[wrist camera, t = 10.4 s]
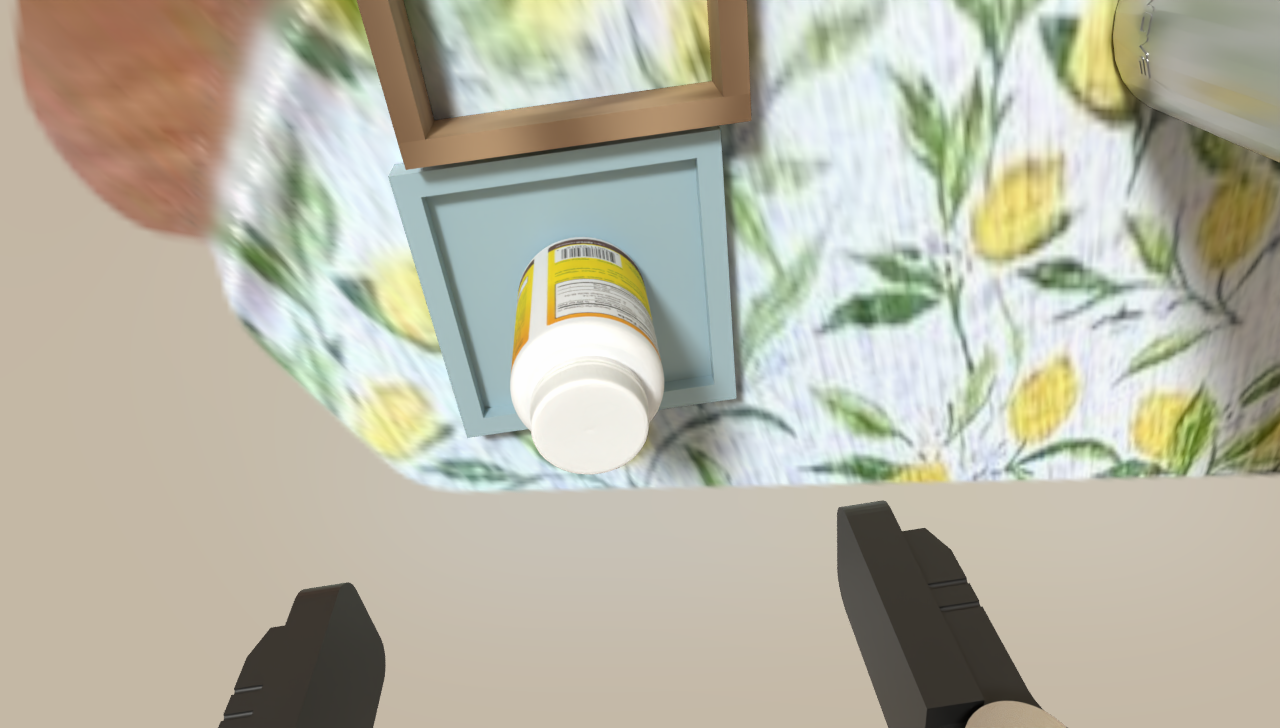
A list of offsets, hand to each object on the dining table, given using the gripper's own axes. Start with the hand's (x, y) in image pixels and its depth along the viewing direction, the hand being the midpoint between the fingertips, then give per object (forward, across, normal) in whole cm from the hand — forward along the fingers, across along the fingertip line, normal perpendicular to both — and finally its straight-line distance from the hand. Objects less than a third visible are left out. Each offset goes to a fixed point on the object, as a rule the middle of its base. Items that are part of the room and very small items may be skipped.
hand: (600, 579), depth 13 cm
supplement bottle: (+22, +1, +6) cm, 23 cm away
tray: (+22, +1, +6) cm, 23 cm away
